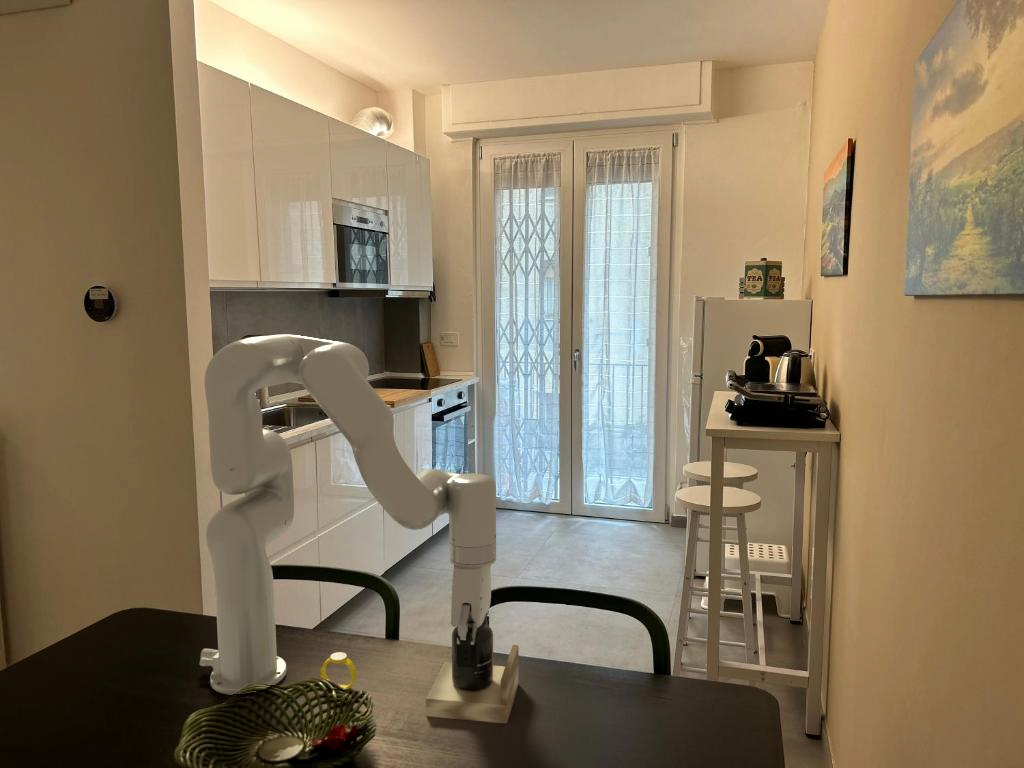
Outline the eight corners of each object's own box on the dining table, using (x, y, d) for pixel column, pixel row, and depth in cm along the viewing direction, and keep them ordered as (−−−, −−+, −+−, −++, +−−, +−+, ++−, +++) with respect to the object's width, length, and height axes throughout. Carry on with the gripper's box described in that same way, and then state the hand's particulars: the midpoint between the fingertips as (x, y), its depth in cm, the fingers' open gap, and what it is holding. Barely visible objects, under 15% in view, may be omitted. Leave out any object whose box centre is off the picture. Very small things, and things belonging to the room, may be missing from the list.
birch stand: (426, 716, 118) (425, 674, 118) (444, 678, 130) (444, 639, 129) (507, 723, 116) (506, 681, 116) (518, 684, 128) (518, 645, 127)
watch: (357, 687, 128) (359, 655, 127) (351, 696, 125) (352, 662, 124) (325, 681, 129) (326, 649, 128) (318, 689, 126) (319, 656, 125)
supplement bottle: (487, 694, 119) (486, 623, 118) (446, 690, 121) (445, 619, 119) (498, 673, 126) (497, 605, 124) (459, 668, 127) (457, 601, 126)
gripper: (462, 533, 129) (463, 627, 131) (436, 569, 112) (438, 676, 114) (504, 535, 128) (505, 630, 130) (485, 572, 111) (486, 680, 113)
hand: (473, 651), depth 122 cm, fingers open, 9 cm apart
